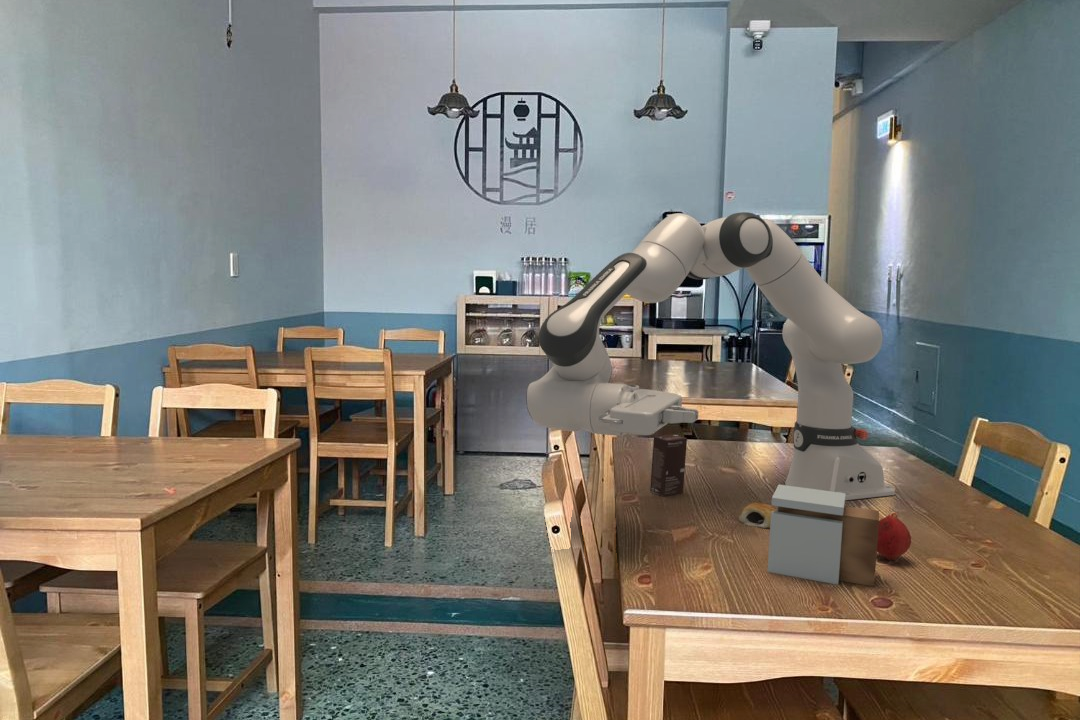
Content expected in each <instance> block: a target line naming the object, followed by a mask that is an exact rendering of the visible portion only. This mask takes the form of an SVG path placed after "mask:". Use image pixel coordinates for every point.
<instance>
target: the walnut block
mask: <svg viewBox="0 0 1080 720" xmlns="http://www.w3.org/2000/svg"><path fill="white" fill-rule="evenodd" d="M778 512H783V513H790V514H797V515H804V516H810V517H817V518H824V519H831V520H838V521H843V525H842V540H841V554H840V568H839V581H841V582H846V583H852V584H857V585H862V586H868V587H873V588H874V587H875V580H876V579H875V578H876V565H877V554H878V552H877V542H878V529H879V521H880V511H879V510H874V509H868V508H861V507H854V506H847V505H844V512H843V516H842V515H835V514H828V513H821V512H814V511H807V510H800V509H794V508H787V507H780V506H778Z"/></svg>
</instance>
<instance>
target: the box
mask: <svg viewBox="0 0 1080 720" xmlns="http://www.w3.org/2000/svg"><path fill="white" fill-rule="evenodd" d="M652 443H653V444H652V456H651V457H652V458H651V474H650V488H649V492H651V493H652V494H654V495H658V496H661V497H665V496H671V495H675V494H682V493H684V485H685V484H684V483H685V471H686V468H685V467H686V459H687V458H686V456H687V443H688V438H687V437H685V436H681V435H678V434H675V433H673V434H671V433H670V434H663V435H657V436H656V435H655V436H653V442H652Z"/></svg>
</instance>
